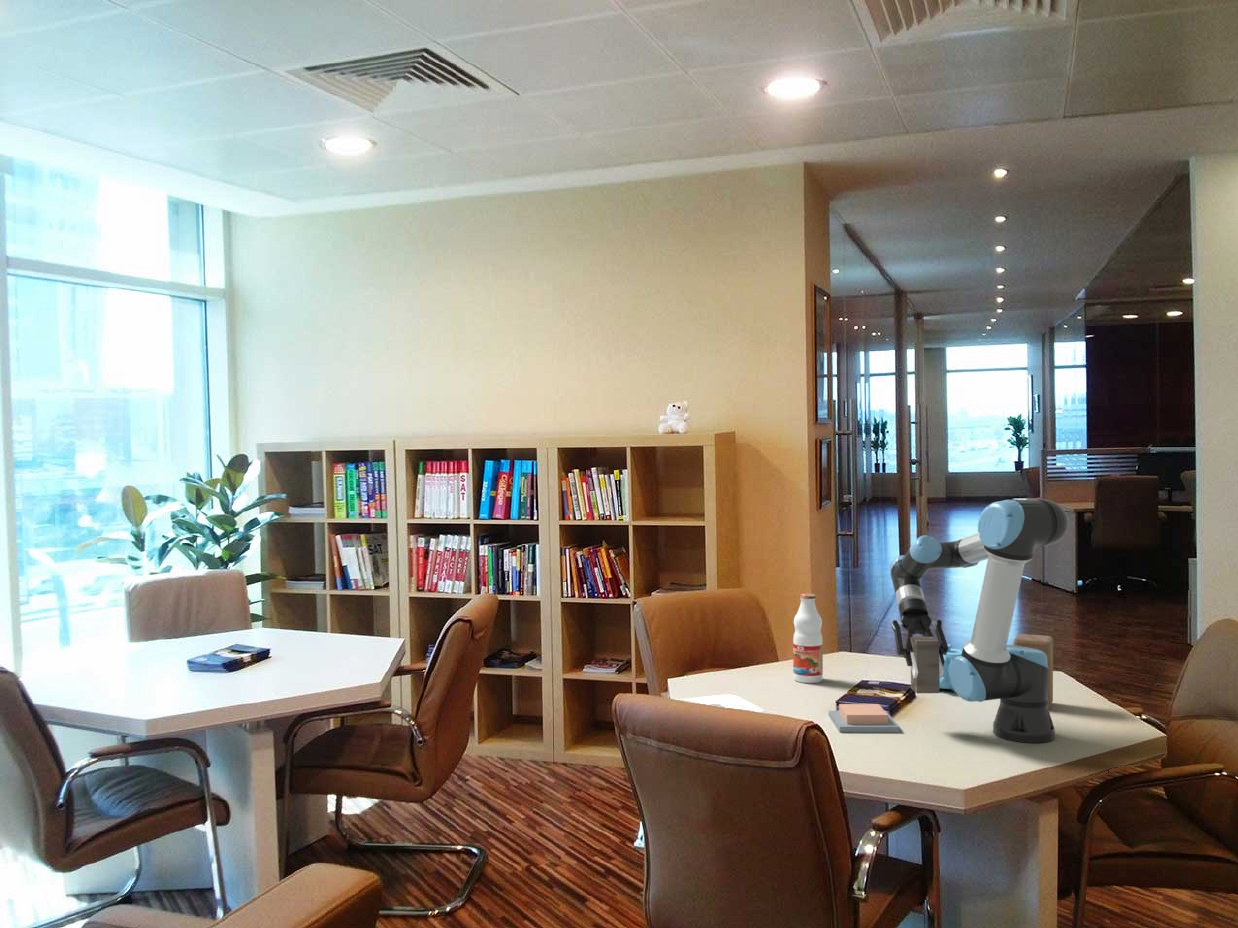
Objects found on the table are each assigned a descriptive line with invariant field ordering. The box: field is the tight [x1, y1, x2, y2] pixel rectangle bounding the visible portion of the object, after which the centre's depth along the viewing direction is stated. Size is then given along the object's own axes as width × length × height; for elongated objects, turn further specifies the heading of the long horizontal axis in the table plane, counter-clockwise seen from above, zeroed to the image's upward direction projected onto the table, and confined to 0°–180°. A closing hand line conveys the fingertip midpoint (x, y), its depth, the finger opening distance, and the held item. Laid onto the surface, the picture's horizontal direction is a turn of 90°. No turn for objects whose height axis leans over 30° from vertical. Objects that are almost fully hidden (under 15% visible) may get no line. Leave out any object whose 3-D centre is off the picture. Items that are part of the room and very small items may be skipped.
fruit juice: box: [792, 593, 824, 684], centre depth 324 cm, size 9×9×28 cm
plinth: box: [828, 703, 901, 733], centre depth 274 cm, size 16×16×4 cm
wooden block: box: [1013, 633, 1054, 710], centre depth 292 cm, size 10×10×20 cm
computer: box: [676, 693, 765, 714], centre depth 285 cm, size 22×22×3 cm
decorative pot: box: [939, 643, 963, 693], centre depth 313 cm, size 16×16×14 cm
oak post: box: [910, 636, 940, 694], centre depth 269 cm, size 6×6×14 cm
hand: (928, 675), depth 265 cm, fingers closed on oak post, 6 cm apart
